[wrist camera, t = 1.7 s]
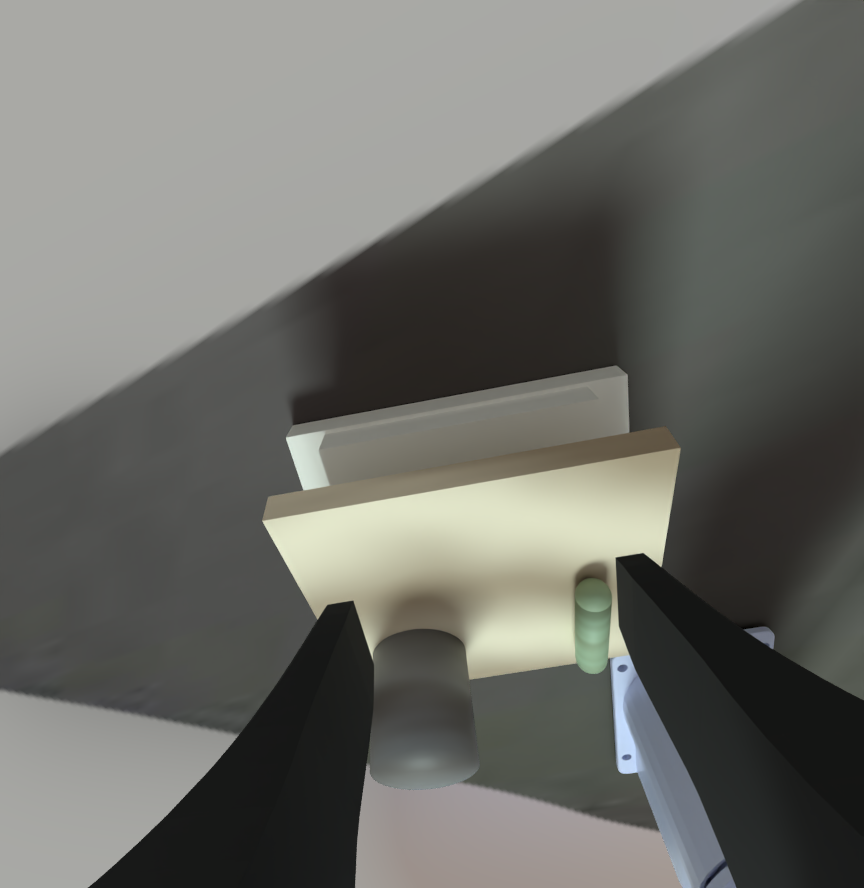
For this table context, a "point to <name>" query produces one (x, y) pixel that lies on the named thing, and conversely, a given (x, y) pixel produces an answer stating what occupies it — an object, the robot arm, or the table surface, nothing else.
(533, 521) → the plate
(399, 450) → the stand
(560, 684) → the table surface
